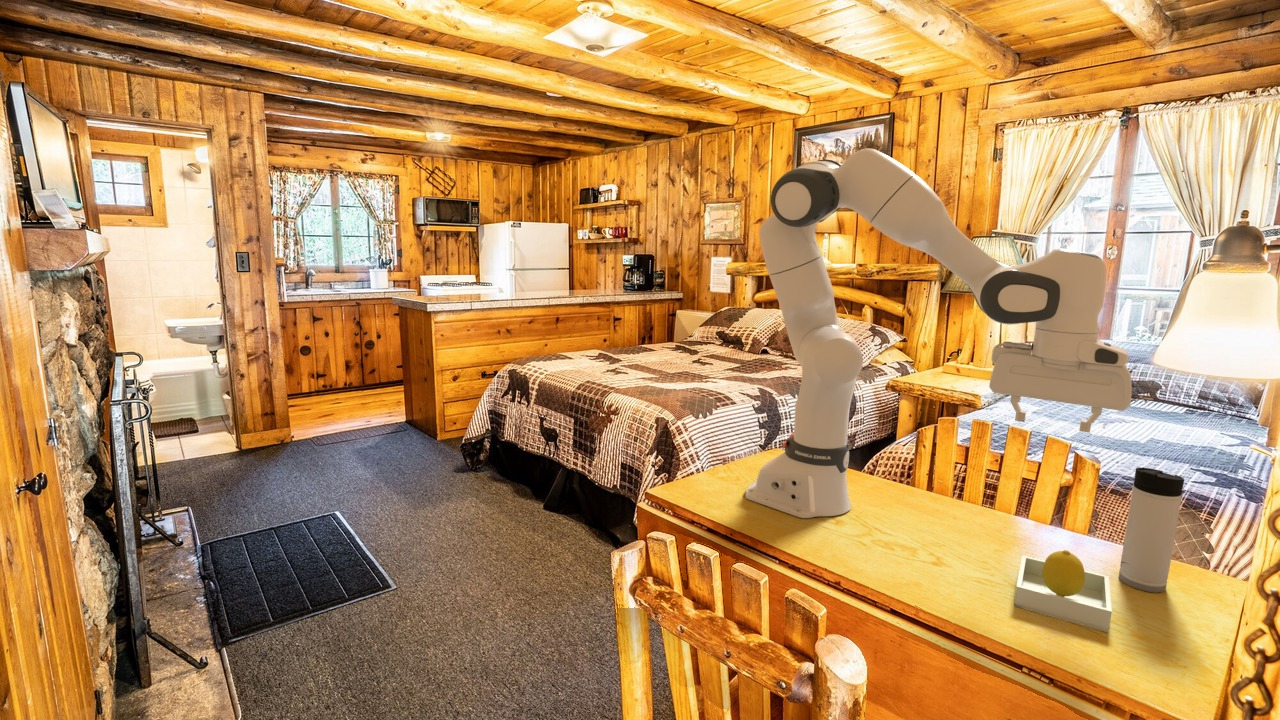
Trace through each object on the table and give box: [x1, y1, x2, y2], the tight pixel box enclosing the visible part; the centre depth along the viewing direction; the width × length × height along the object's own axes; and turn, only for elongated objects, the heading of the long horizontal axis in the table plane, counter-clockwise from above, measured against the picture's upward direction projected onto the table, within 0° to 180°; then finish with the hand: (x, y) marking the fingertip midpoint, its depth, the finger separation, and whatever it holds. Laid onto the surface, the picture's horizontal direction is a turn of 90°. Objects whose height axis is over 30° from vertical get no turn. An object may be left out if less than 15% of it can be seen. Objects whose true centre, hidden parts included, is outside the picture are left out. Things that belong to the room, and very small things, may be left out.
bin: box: [1013, 554, 1113, 634], centre depth 100 cm, size 12×12×3 cm
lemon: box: [1043, 549, 1085, 597], centre depth 100 cm, size 6×6×8 cm
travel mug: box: [1118, 467, 1185, 593], centre depth 104 cm, size 6×7×20 cm
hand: (1051, 425), depth 109 cm, fingers open, 8 cm apart
